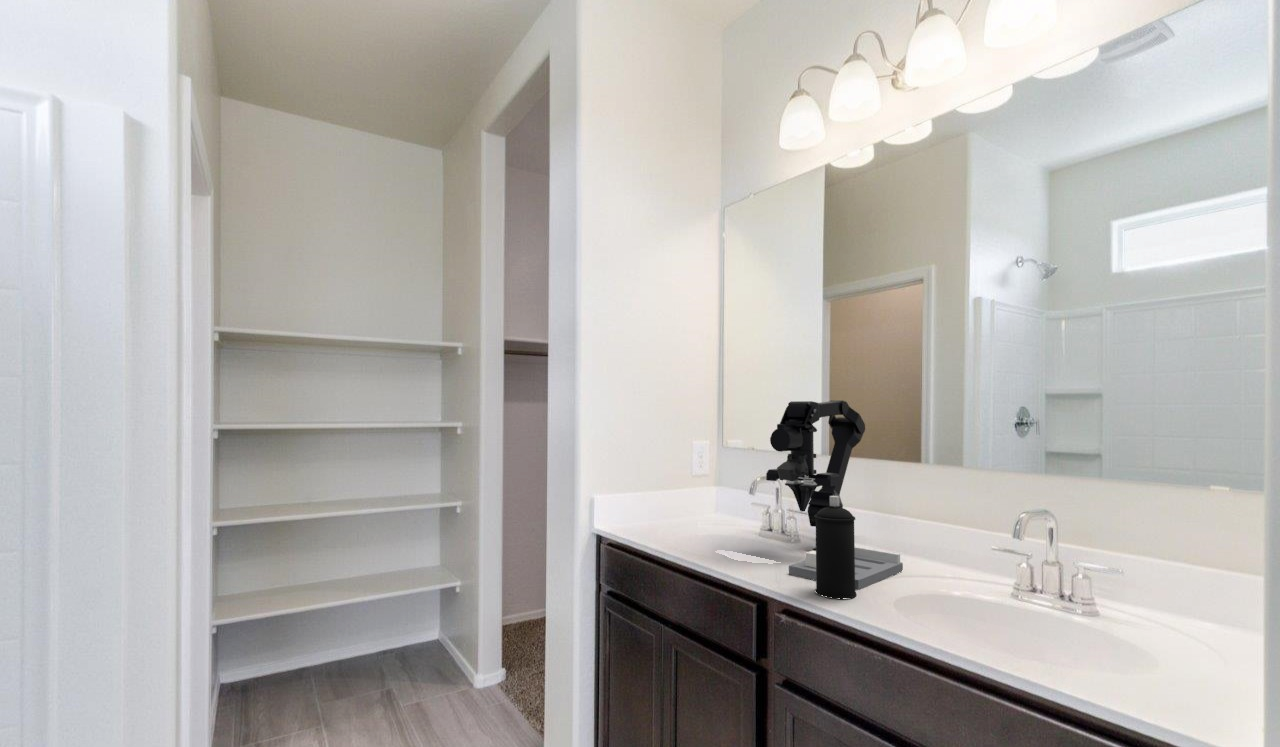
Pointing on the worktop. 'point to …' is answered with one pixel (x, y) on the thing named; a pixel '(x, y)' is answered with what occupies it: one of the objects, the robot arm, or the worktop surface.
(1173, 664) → the worktop surface
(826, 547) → the aerosol can
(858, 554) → the breaker panel
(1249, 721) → the worktop surface
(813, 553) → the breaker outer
